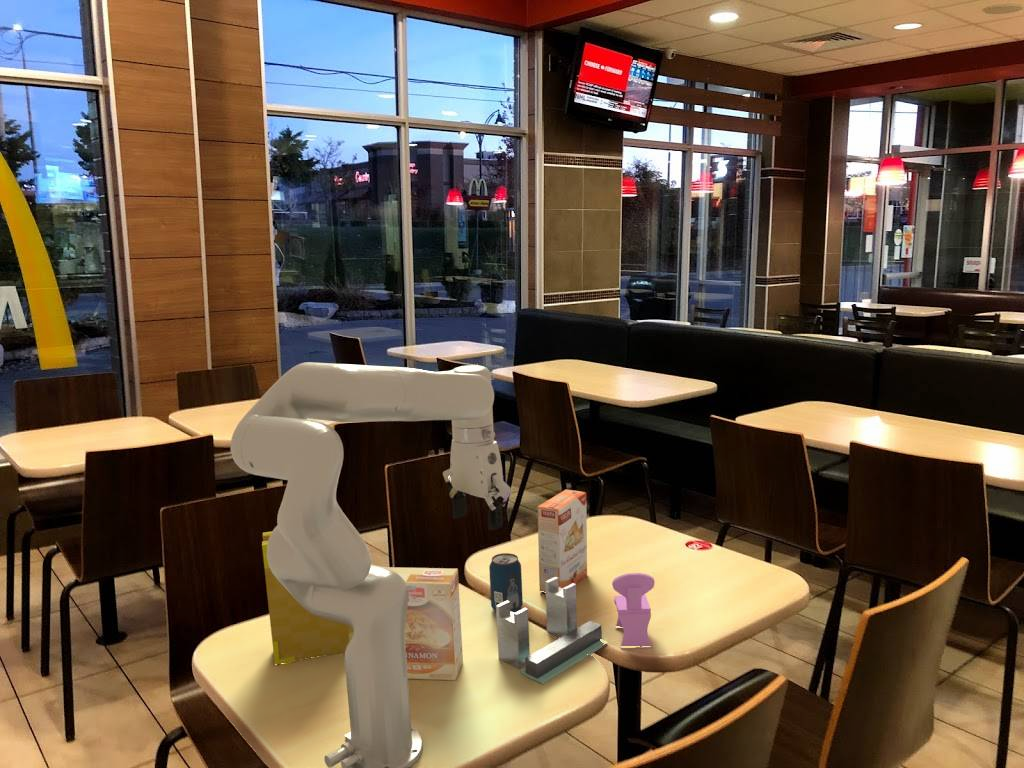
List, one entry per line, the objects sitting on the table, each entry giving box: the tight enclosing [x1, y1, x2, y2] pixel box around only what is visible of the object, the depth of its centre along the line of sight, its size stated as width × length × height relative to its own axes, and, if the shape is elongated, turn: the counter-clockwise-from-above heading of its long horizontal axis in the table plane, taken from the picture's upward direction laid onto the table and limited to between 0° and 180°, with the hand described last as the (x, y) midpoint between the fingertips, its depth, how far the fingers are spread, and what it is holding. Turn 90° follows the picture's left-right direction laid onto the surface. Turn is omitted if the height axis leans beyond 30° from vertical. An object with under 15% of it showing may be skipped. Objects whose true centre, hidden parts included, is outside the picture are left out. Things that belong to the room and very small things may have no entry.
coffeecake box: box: [383, 566, 464, 681], centre depth 151 cm, size 15×7×20 cm, turn 82°
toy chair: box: [611, 572, 656, 647], centre depth 160 cm, size 8×9×15 cm
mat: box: [520, 641, 604, 685], centre depth 155 cm, size 19×6×1 cm, turn 135°
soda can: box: [489, 552, 524, 614], centre depth 175 cm, size 7×7×12 cm
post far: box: [545, 577, 578, 638], centre depth 164 cm, size 3×6×11 cm, turn 45°
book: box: [261, 531, 354, 665], centre depth 160 cm, size 17×7×25 cm, turn 105°
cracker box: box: [537, 488, 588, 592], centre depth 186 cm, size 14×6×21 cm, turn 148°
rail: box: [524, 620, 603, 679], centre depth 154 cm, size 19×3×3 cm, turn 135°
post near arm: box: [495, 600, 531, 669], centre depth 154 cm, size 3×6×11 cm, turn 45°
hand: (477, 522), depth 150 cm, fingers open, 9 cm apart
